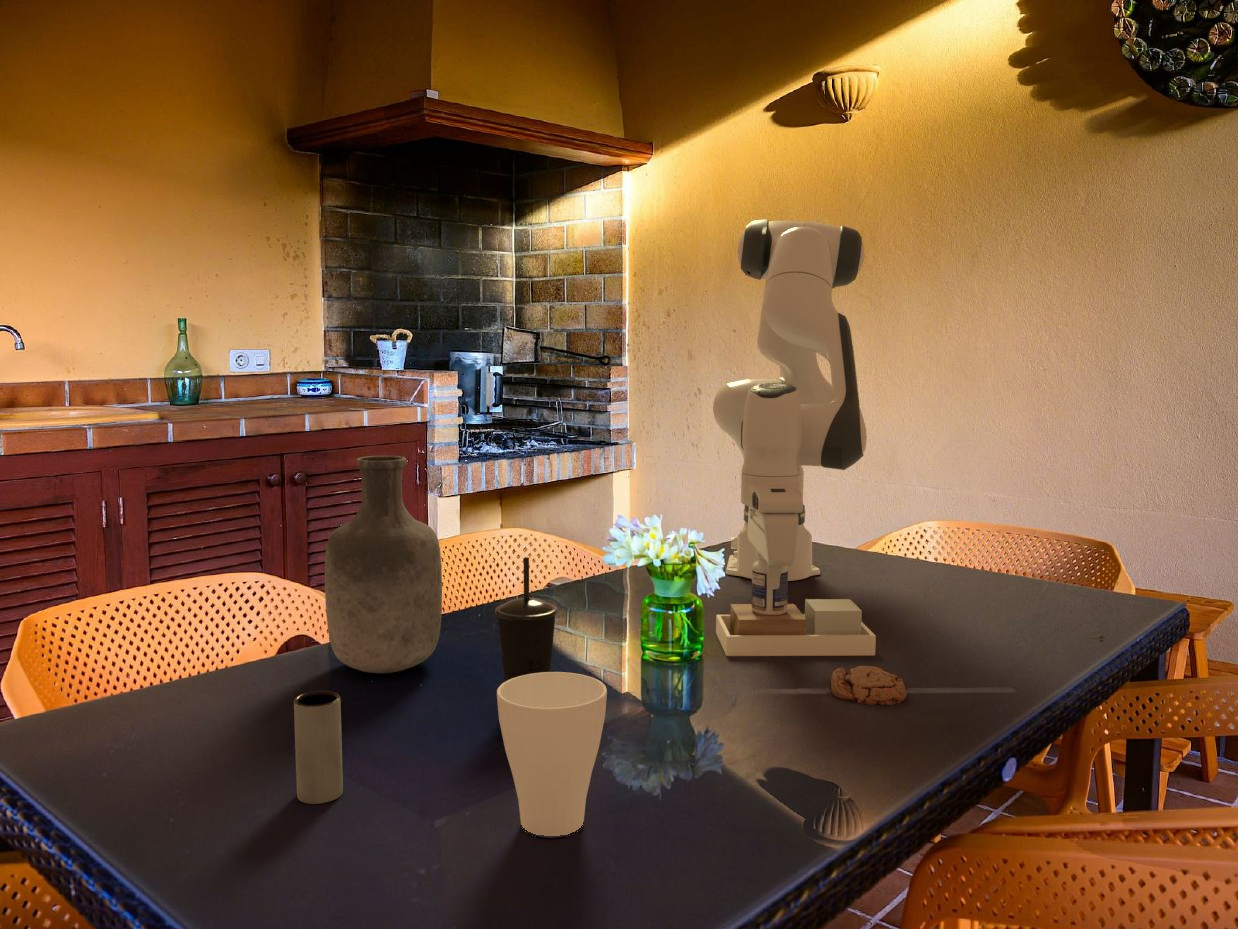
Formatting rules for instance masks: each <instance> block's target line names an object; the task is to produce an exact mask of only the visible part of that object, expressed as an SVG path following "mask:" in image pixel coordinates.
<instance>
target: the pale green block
mask: <svg viewBox="0 0 1238 929" xmlns="http://www.w3.org/2000/svg"><path fill="white" fill-rule="evenodd" d="M804 614H805V618H806V619H807V620H806V635H861V622H863V621H862V620H863V619H862V617H863V616H862V614H863V610H861V609H860V608H859V607H858V605H857V604H856V603H855V602H853V601H852V599H849V598H836V599H835V598H834V599H833V598H831V599H830V598H829V599H827V598H825V599H824V598H821V599H820V598H815V599H813V598H809V599H808V598H805V599H804Z"/></svg>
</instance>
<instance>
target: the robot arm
mask: <svg viewBox="0 0 1238 929" xmlns="http://www.w3.org/2000/svg"><path fill="white" fill-rule="evenodd" d="M737 258H738V262H739V265H740V269H741V271H742V272H743V274H744V275H745V276H747V277H750V278H752V279H756V280H758V281H759V280H760V281H761V279H762V280H765V284H764V291H763V296H762V303H761V309H760V316H759V324H758V325H759V326H758V331H757V332H758V334H757V341H756V342H757V347H758V350H759V352H760V354H761V355H762V356H764V357H765V358H766V359H767V360H769V361H770V362H772V363H774V364H775V365H778V366H779V369H780V370H779V377H778V378H748V379H747V378H745V379H740V380H736V381H735V380H734V381H732V382H727V383H724V384H722V385H721V387H719V389H718V390H717V391H716V394H715V395H714V399H713V403H712V404H713V405H712V411H713V417H714V420H715V422H716V424H717V425H718V427H719V428H720V429H721V430H722V431H723V432H724V433H726V434H727V435H728V436H729V437H730V438H732V440H733V441H734V442H735V444H736V446H738V448H739V451H740V452H741V454H742V457H743V464H742V466H741V474H740V475H741V476H740V478H741V479H740V482H741V483H740V484H741V485H740V503H741V504H743V505H744V509H743V521H744V523H743V525H742V527H741V529H739V532H738V533H737V536H733V537H731V538H730V548H731V549H732V550H735V551H733V554H730V555H729V558H728V562H727V565H726V570H725V575H730V576H738V577H743V578H746V579H750V580H752V567H753V564H754V563H755V562H756V561H758V560H759V558H757V550H758V552H759V553H760V554H761V555H762V557H763V558H764V559H765V560H766V562H767V575H766V586H767V587H768V588H769V589H778V588H779V587H780V576H781V572H782V568H783V566H788V582H791V581H792V582H793V581H799V580H804V579H807V578H809V577H812V576H817V575H820V574H821V570H820V568H818V567H816V566H815V565H813V538H812V535H813V534H812V532H810V531H809V530H808V529H807V528H806V527H805V524H804V523H805V521H806V519H805V518H806V506H805V504H804V480H805V478H804V476H805V475H804V467H805V466H808V467H822V468H825V469H832V470H833V469H834V470H842V471H845V470H847V469H848V468H850V467H852V466H853V465H854V464H856V463H857V462H859V460H861V459H862V458H863V456H864V453H865V450H866V447H867V439H868V438H867V437H868V436H867V428H866V423H865V419H864V417H863V413H862V410H861V408H860V399H859V398H860V396H859V386H858V377H857V368H856V360H855V358H856V357H855V351H854V350H855V349H854V345H853V338H852V332H851V327H850V323H849V321H848V318H847V316H846V315H844V314H842V313H841V312H838V311H837V309H836V307H835V306H834V303H833V296H832V293H833V289H835V288H838V287H839V288H840V287H845V286H847V285H849V284H852V283H853V282H854V281H855V280H856V278H857V276H858V275H859V273H860V272H861V270H862V267H863V264H864V261H865V248H864V244H863V237H862V235H861V233H860V232H859V231H858V230H857V229H854V228H852V227H849V226H845V225H841V226H838V225H837V226H836V225H832V224H828V223H824V222H817V221H809V220H805V221H800V220H799V221H798V220H796V221H795V220H771V221H770V220H768V219H767V218H766V219H765V218H764V219H758V220H757V219H755V220H752V221H750V223H748V224H747V225H745V229H744V230H743V232H742V233H741V236H740V238H739V241H738V244H737ZM817 354H819V355H821V356H822V357H823V358H824V359H826V360H827V361H828V363H829V366H830V368H829V369H830V377H831V382H829V381H828V380H827V379H826V377H825V376H824V375H823V373H822V371H821V368H820V366H819V363H818V362H819V361H818V358H817ZM803 466H804V467H803Z"/></svg>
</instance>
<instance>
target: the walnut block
mask: <svg viewBox="0 0 1238 929" xmlns="http://www.w3.org/2000/svg"><path fill="white" fill-rule="evenodd" d="M803 614H804V613H802V612H801V610H800V609H799V608H798V606H797V605H796V604H795V603H787V611H786V612H785V613H784V614H781V615H762V614H757V613H755V612H753V610H752V603H743V604H742V603H730V613H729V615H730V635H806V620H807V619H806V618H805V617H804V616H803Z"/></svg>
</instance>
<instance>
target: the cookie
mask: <svg viewBox="0 0 1238 929" xmlns="http://www.w3.org/2000/svg"><path fill="white" fill-rule="evenodd" d="M830 686H831V687H830V691H831V693H832V695H833V696H835V697H836V698H839V699H841V700H847V701H848V700H849V701H853V702H854V701H855V702H856V701H857V703H858V704H866V705H870V706H871V705H872V706H873V705H874V706H875V705H883V706H884V705H885V706H887V705H888V706H892V705H895V704H901V703H903V701H905V700H906V698H907V688H906V686H905V683H904V681H903V678H899V677H898V676H897V675H896V674H891V673H890V672H887V671H886V670H885V671H884V670H883V668H880V667H878V666H871V665H870V666H868V665H858V666H856V667H853V668H850V669H849V670H847V669H845V668H844V667H839V668H836V669H835V670H833V671H832V673H831V679H830Z"/></svg>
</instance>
